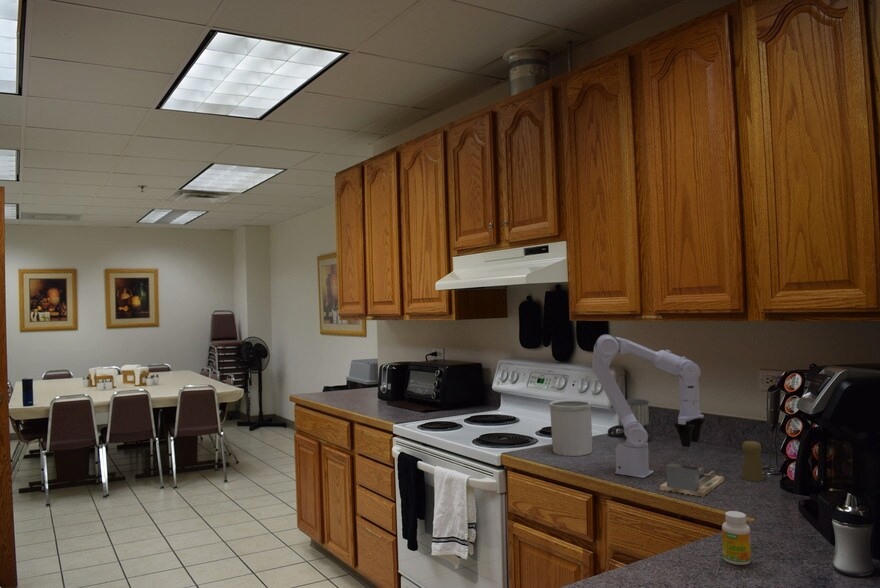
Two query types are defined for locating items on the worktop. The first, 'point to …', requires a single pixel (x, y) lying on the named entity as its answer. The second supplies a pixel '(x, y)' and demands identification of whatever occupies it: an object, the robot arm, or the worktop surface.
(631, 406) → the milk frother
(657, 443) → the worktop surface
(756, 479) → the cork
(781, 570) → the worktop surface
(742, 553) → the supplement bottle
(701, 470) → the gauge carriage
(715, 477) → the gauge board
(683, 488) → the grey box
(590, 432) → the utensil holder
